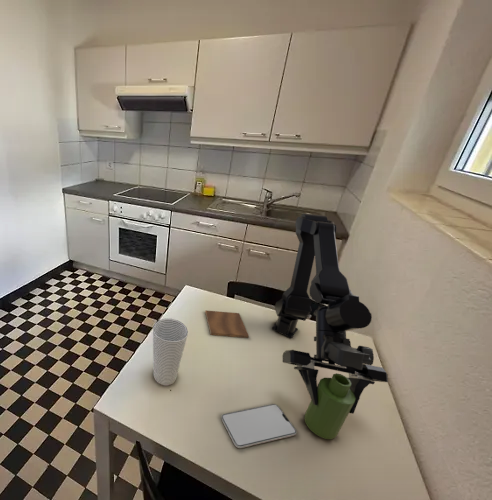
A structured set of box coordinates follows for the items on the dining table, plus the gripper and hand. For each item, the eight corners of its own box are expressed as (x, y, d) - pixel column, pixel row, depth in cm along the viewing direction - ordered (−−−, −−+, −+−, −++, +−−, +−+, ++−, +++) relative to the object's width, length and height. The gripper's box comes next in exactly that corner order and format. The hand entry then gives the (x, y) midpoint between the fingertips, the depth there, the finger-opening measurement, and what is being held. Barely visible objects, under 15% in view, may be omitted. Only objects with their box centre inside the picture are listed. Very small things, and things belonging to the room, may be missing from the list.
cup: (142, 372, 74) (145, 325, 68) (166, 359, 79) (171, 314, 73) (163, 396, 68) (168, 346, 62) (187, 380, 73) (195, 332, 66)
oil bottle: (309, 406, 67) (328, 362, 61) (339, 425, 63) (363, 380, 57) (300, 424, 62) (320, 379, 57) (333, 445, 58) (357, 399, 53)
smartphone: (219, 414, 63) (276, 402, 67) (219, 416, 64) (275, 404, 67) (237, 447, 57) (298, 433, 60) (236, 449, 57) (298, 435, 61)
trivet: (238, 315, 100) (239, 313, 100) (248, 338, 89) (248, 335, 89) (205, 312, 100) (205, 310, 100) (210, 335, 89) (211, 332, 89)
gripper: (300, 320, 58) (300, 403, 53) (403, 339, 55) (414, 429, 49) (282, 326, 68) (280, 396, 63) (368, 342, 65) (373, 417, 59)
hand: (332, 409), depth 58 cm, fingers closed on oil bottle, 6 cm apart
